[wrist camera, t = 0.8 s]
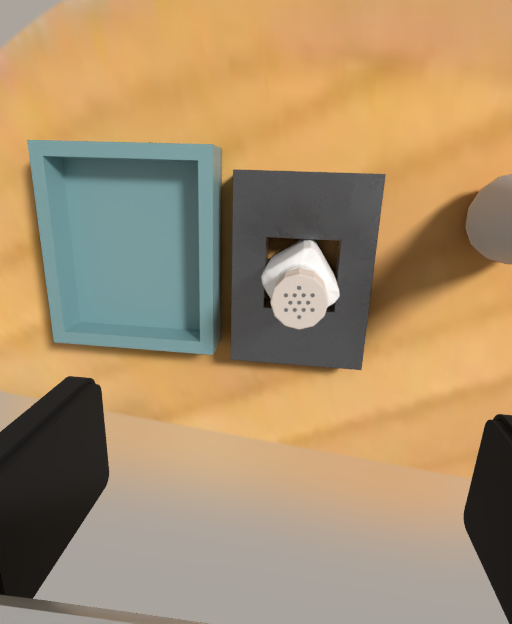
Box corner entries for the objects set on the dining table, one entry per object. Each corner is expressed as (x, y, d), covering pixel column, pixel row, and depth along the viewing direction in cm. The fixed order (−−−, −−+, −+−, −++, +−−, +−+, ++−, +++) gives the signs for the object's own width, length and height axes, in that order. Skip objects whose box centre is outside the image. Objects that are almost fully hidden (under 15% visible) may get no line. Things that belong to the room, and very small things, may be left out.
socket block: (379, 174, 29) (385, 174, 26) (357, 356, 33) (361, 369, 31) (239, 170, 30) (233, 169, 27) (236, 347, 34) (230, 359, 32)
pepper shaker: (292, 302, 32) (286, 348, 23) (265, 259, 31) (249, 290, 22) (337, 277, 31) (349, 315, 22) (311, 232, 30) (312, 253, 21)
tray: (221, 148, 29) (212, 144, 26) (220, 340, 34) (212, 354, 31) (53, 143, 31) (27, 140, 28) (74, 329, 35) (53, 342, 32)
